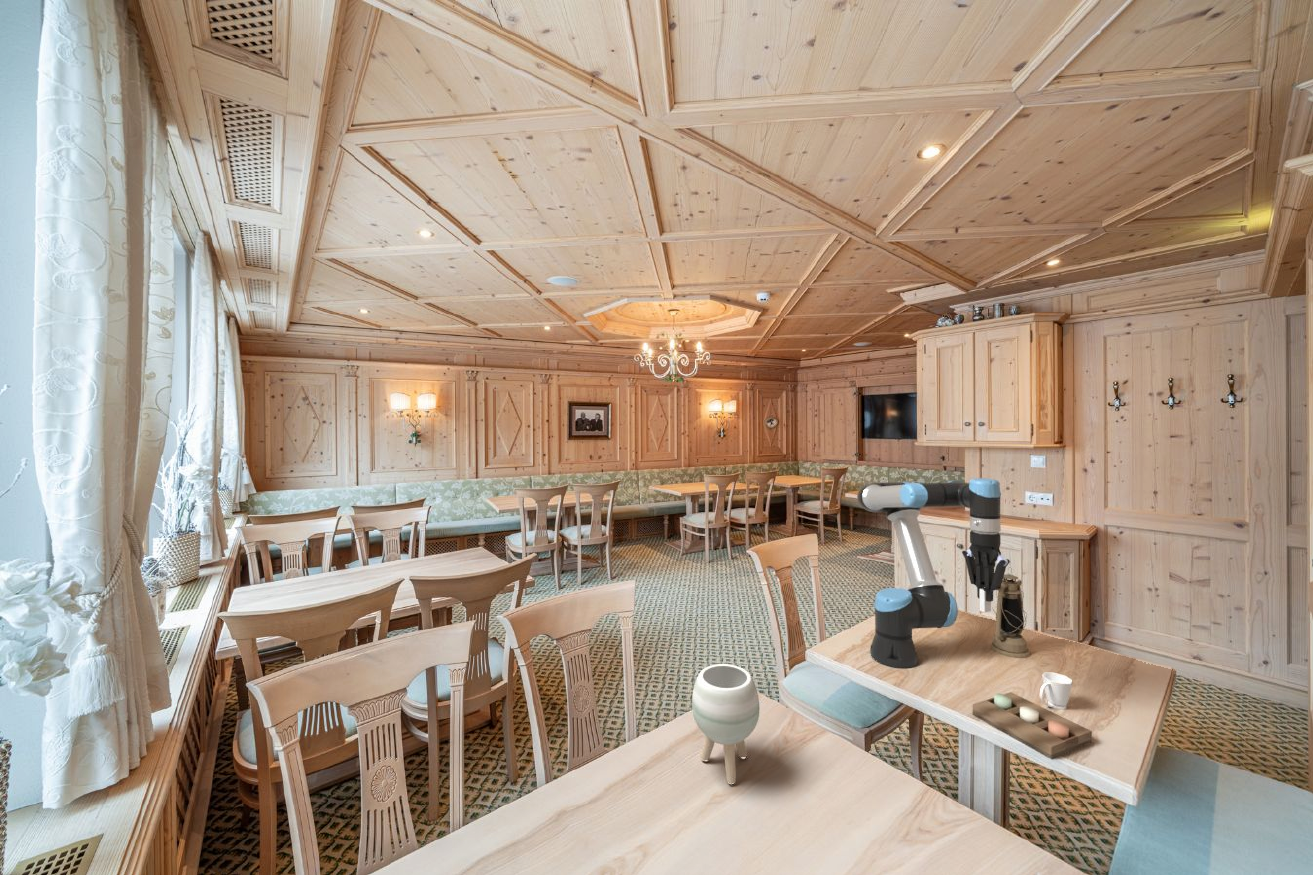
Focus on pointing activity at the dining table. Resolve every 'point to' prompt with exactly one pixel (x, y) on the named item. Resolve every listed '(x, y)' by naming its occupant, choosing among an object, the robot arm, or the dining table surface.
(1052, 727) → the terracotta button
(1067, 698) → the cup
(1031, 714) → the white egg
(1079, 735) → the wooden egg tray
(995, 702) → the pale green egg
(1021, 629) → the lantern
